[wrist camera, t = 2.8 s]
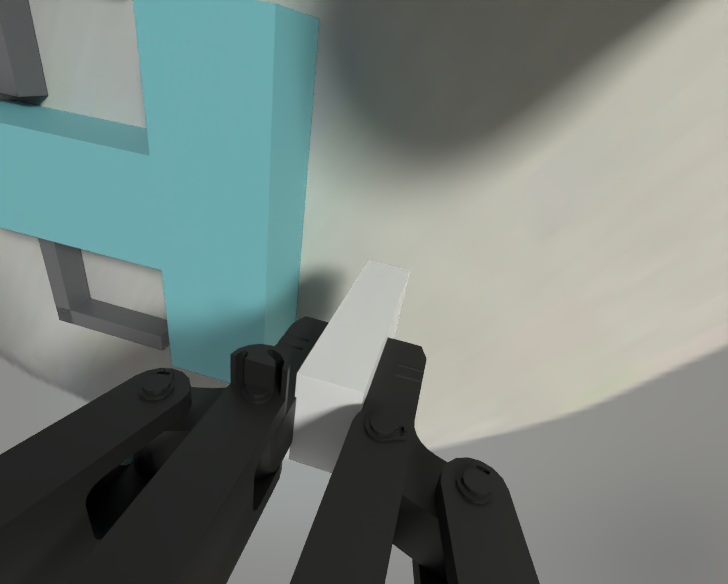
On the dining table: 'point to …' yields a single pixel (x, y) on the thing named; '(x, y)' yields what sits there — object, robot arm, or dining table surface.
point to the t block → (186, 171)
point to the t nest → (63, 263)
